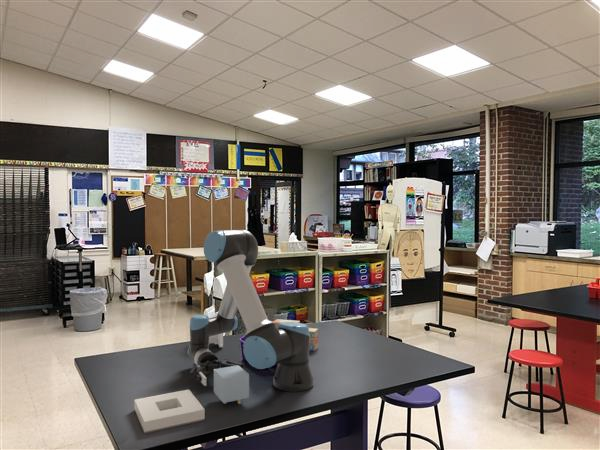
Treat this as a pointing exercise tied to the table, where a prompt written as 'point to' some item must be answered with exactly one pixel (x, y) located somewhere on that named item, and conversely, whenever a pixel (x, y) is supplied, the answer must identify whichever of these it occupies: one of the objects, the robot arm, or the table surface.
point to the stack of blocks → (312, 332)
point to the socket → (168, 410)
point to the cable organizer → (217, 340)
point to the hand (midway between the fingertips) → (224, 378)
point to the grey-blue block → (231, 384)
